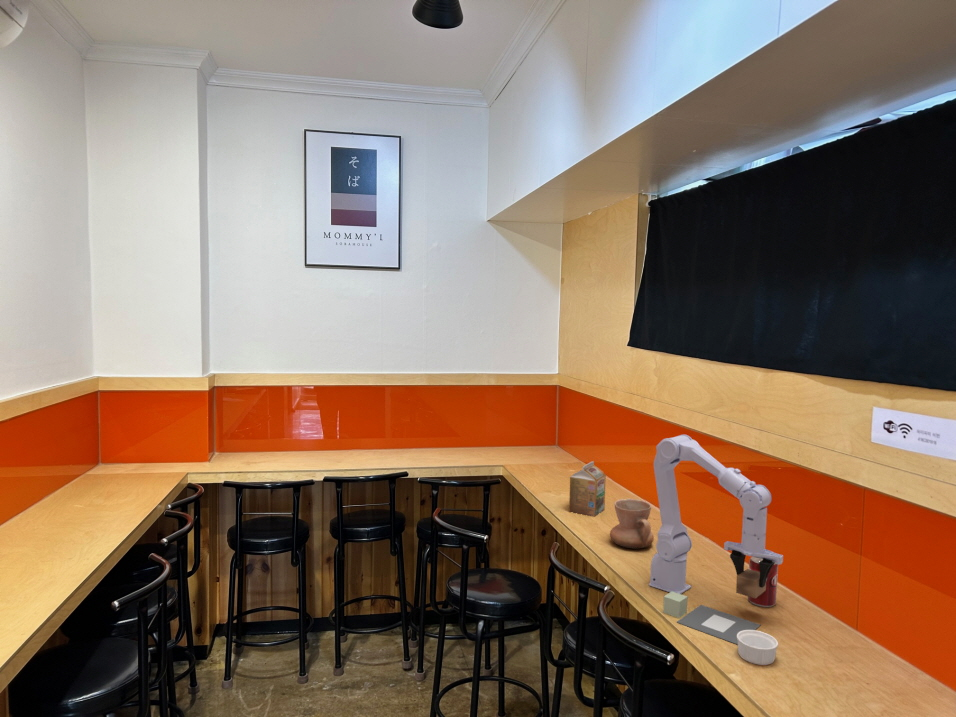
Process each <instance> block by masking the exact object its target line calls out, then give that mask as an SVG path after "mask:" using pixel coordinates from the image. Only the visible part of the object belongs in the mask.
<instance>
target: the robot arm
mask: <svg viewBox="0 0 956 717" xmlns="http://www.w3.org/2000/svg"><path fill="white" fill-rule="evenodd" d="M655 448H656V454H655V457H654V459H653V472H654V478H655V484H656V485H655V486H656V493H657V498H658V506H659V508H658V509H659V513H660V514H659V515H660V521H661V526H660V528H659V530H658V531H657V533H656V534H657V535H656V536H657V542H656V545H655V546H656V547H655V548H656V553H655V554H654V555H653V557H651V562H650V578H649V580H650V581H649V583H648V586H649V587H652V588H654V589H655V588H656V589H659V590H661V591H664V592H667V593H670V592H675V593H678V594H681V595H682V594H683V593H685V592H687V590H689V589H690V588H692V585H690V584H687V582H686V579H687V559H688V552H690V551H691V549H692V547H693V546H692V545H693V542H692V538H691V537H690V535H689V533H688V529H687V527H686V526H685V525H684V523H682V519H681V510H680V503H679V498H678V497H679V496H678V489H677V481H676V474H675V467H676V466H677V465H679V463H680V462H681V461H685V462H687V461H689V462H694V463H696V464H697V465H699V467H700V466H701V468H703V469H704V470H706V471H708V472H709V473H710V474H712V475H713V476H715V477H716V478H717V479H718V484H719V485H720V486H721V487H722V488H723V489H725V490H726V491H727V492H729V493H730V494H731V495H733V496H734V497H735V498H737V500H739V504H740V505H741V507H742V509H743V512H742V529H741V533H742V534H741V542H734V541H731V540H730V541H728V540H727V541H725V542H724V543H723V544H724V545H723V546H724V547H723V550H724V551H731V553H730V555H729V558H730V560H731V562H732V563H733V566H734V569H735V573H736V577H737V576H738V575H739V574H740V573H742V572H743V571H745V563H746V562H745V561H746V556H748V557H757V558H761V559H763V560H762V561H760V562H759V567H760V581H759V587H761V588H762V587H764V586H765V583H766V579H767V576H768V574H769V572H770V570H771V568H772V567H773V565H774V564H775V563H776V564H778V566H779V565H782V564H783V562H784V555H783V554H779V553H776V552H774V551H772V550H769V549H767V548H766V539H767V538H766V537H767V536H766V534H767V520H768V519H767V516H768V506H769V505H770V504H771V502H772V494H771V492H770V491H769V489H768V488H767V487H766V486H765V485H763V484H756V483H757V482H755V481H754V480H752V481H751V480H750V479H749V478H747V477H746V476H745V475H743V474H742V473H741V472H742V471H741V470H740V469H739V468H734V467H726V466H725V465H724V464H722V463H721V462H719V461H718V460H717V458H714V457H713V456H712V455H711V454H710V453H709V452H707V451H706V450H705V449H704V448H703V447H702V446H701V445H700V444H699V443H698V441H696V440H695V439H692V437H691V436H689V434H688V435H687V434H680V435H677V436H674V437H669V438H668V437H666V438H663V439H662V440H660V442H659V443H658V444H657V445H656V446H655Z"/></svg>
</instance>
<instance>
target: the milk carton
mask: <svg viewBox="0 0 956 717" xmlns="http://www.w3.org/2000/svg"><path fill="white" fill-rule="evenodd" d="M594 462H595V461H594V460H593V461H590V462H588V463H587V464H585V465H583V466H582V469H581V470H579V471H576V472H575V473H573V474H572V475H571V476H569V498H568V499H569V505H568V506H569V507H568V508H569V509H568V512H569V513H571V512H573V513H572V514H576V513H577V515H581V514H582V515H583V516H586V515H587V517H592V518H595V517H597V516H598V515H600V514H601V513H602V512H604V511H605V506H606V504H605V503H606V481H607V480H606V479H607V478H606V476H607V475H606V474H605V473H604V471H603V470H601V469H600V468H599V467H597V465H595V463H594ZM599 513H600V514H599Z"/></svg>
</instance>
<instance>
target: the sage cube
mask: <svg viewBox="0 0 956 717" xmlns="http://www.w3.org/2000/svg"><path fill="white" fill-rule="evenodd" d="M662 608H663V609H662V610H663V611H662V613H663V614H666V615H669V616H672V617H674V618H677V619H681V618H682V617H684V615H687V614H688V595H684V594H682V593H681V594H678V593H675V592H668V593H666V594H665V595H664V596H663V606H662Z"/></svg>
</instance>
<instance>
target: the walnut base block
mask: <svg viewBox="0 0 956 717" xmlns="http://www.w3.org/2000/svg"><path fill="white" fill-rule="evenodd" d="M759 581H760V572H758V571H754V570H750V569H749V568H745V569H744V571H743V572H742V573H740V574H739V575H738V576H737V575H736V587H735V588H736V589H735V590H736V592H735V593H736V594H738V595H739V594H740V595H742V596H745V597H748V596H749V597H752V598H757V597H758V596H759V595H761V594H762V593H763V592H764V591H765V590H766V583H765V586H764V587H762V588H761V587H759Z"/></svg>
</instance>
